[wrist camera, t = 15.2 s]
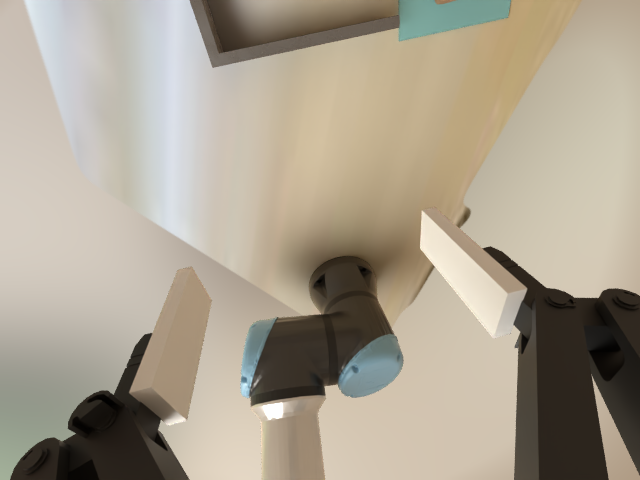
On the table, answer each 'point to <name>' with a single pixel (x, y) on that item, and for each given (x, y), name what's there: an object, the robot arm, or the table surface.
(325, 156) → the table surface
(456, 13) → the pad
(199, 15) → the chute
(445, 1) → the wooden block
